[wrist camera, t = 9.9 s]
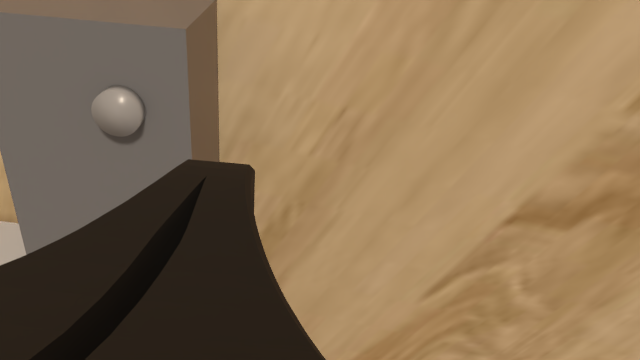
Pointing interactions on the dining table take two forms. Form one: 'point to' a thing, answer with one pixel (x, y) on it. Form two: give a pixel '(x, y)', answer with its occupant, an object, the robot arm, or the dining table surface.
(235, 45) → the dining table surface
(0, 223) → the side door
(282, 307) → the robot arm
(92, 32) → the camera case
